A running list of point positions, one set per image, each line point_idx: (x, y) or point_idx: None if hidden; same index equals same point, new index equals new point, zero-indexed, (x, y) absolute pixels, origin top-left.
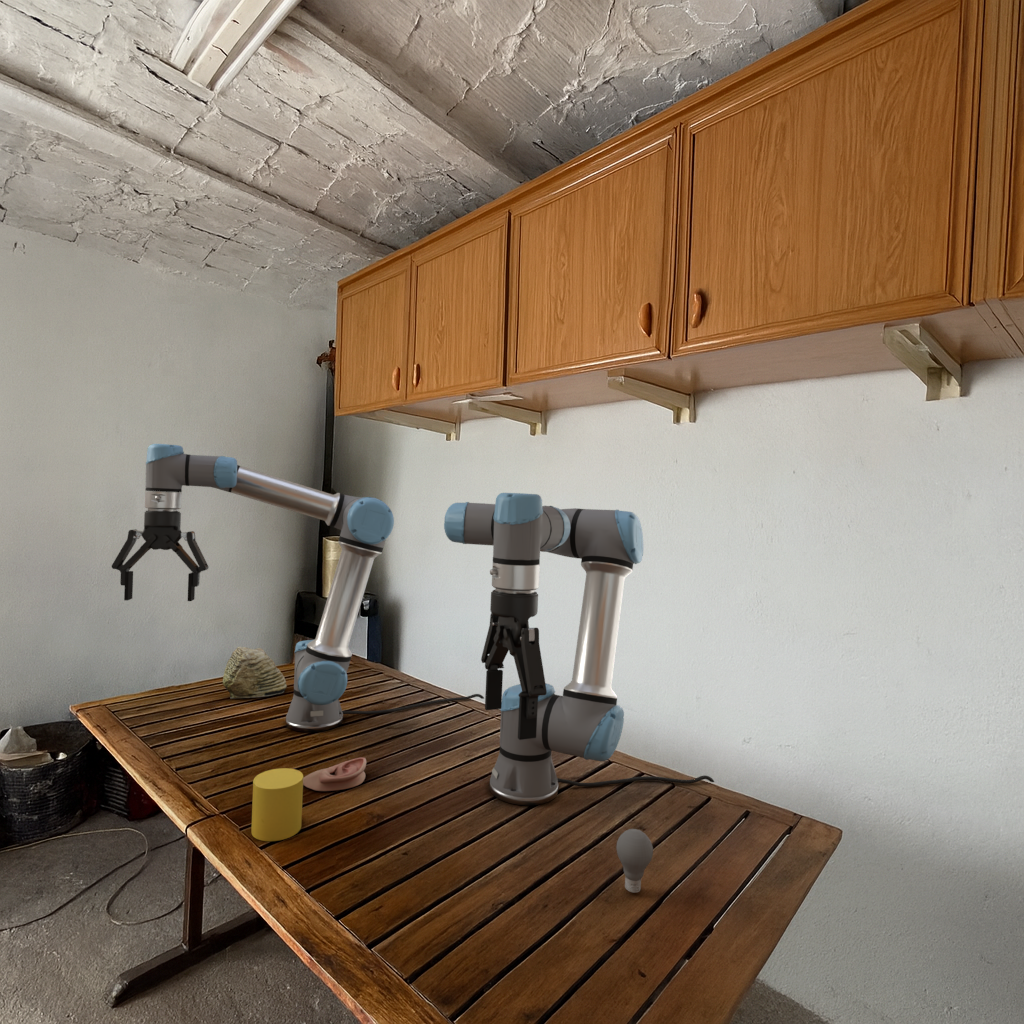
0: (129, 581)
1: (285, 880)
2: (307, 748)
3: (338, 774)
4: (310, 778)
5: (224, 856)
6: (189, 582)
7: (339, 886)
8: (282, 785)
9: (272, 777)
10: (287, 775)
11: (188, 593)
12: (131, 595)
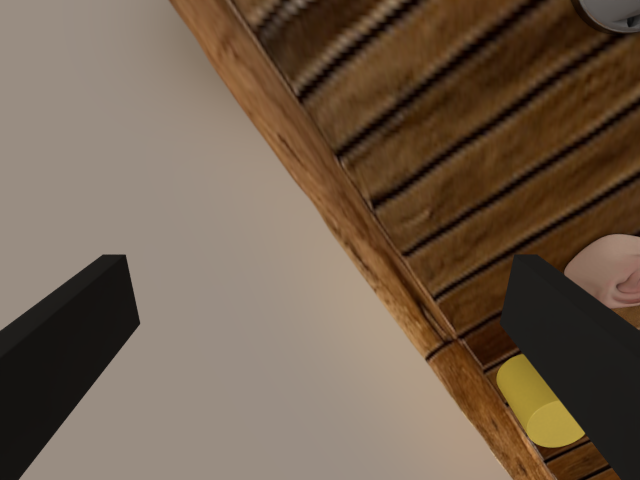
0: (53, 402)
1: (527, 448)
2: (594, 129)
3: (628, 285)
4: (583, 281)
5: (471, 413)
6: (592, 426)
7: (572, 459)
8: (562, 441)
9: (551, 422)
10: (571, 418)
11: (530, 356)
12: (115, 280)
